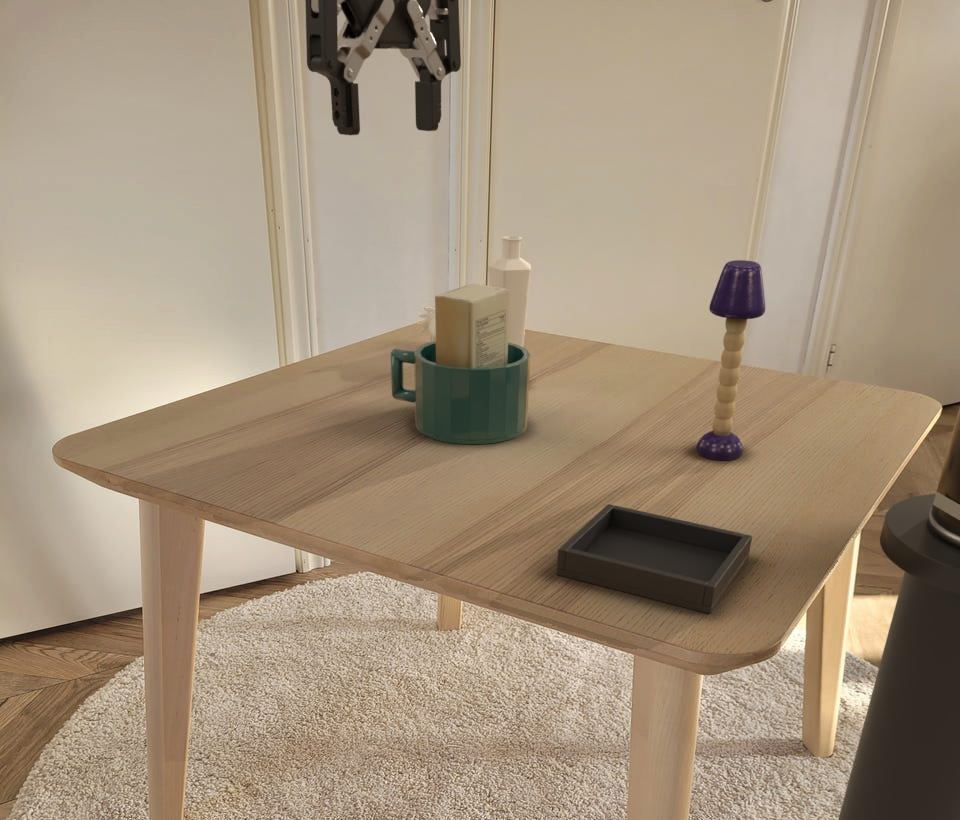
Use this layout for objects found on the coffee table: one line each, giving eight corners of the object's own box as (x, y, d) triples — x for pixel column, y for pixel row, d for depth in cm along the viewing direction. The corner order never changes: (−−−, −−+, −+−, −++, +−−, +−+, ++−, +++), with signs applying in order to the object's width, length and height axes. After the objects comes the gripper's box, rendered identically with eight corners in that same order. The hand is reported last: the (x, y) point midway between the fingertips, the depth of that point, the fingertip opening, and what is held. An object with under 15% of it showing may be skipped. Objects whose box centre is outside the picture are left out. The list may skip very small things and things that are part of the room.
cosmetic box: (472, 408, 100) (474, 281, 94) (508, 417, 98) (512, 288, 92) (433, 425, 96) (432, 293, 89) (469, 434, 94) (471, 300, 87)
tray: (748, 560, 73) (752, 535, 72) (710, 614, 66) (714, 587, 65) (605, 527, 77) (607, 503, 76) (556, 574, 70) (557, 549, 69)
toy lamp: (738, 465, 89) (769, 270, 81) (686, 458, 91) (711, 265, 82) (745, 447, 93) (775, 259, 84) (695, 441, 94) (720, 255, 86)
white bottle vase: (537, 385, 108) (544, 239, 101) (504, 392, 106) (509, 242, 99) (512, 375, 112) (518, 232, 104) (480, 381, 110) (483, 235, 102)
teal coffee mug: (544, 418, 99) (548, 348, 96) (494, 452, 91) (496, 376, 87) (420, 395, 105) (420, 327, 101) (363, 424, 97) (359, 352, 93)
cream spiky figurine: (416, 341, 123) (416, 301, 121) (459, 341, 124) (460, 301, 121) (421, 369, 113) (421, 326, 111) (468, 368, 114) (469, 326, 111)
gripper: (336, -120, 70) (349, 140, 78) (483, -101, 78) (480, 131, 86) (275, -111, 74) (293, 133, 83) (420, -94, 83) (423, 126, 91)
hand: (389, 132), depth 84 cm, fingers open, 8 cm apart
